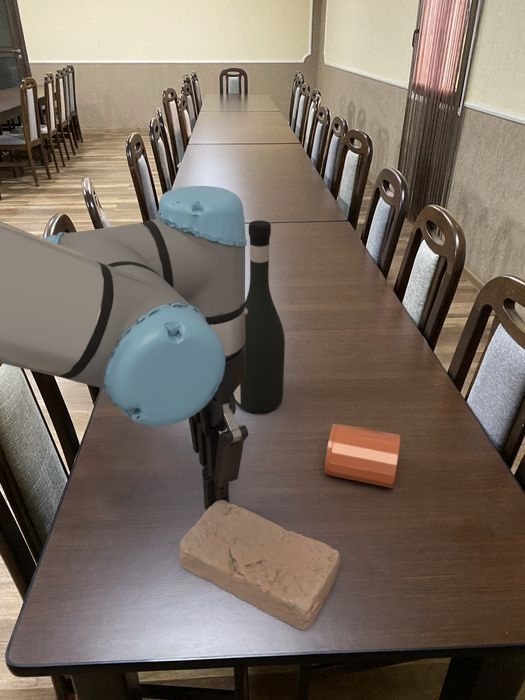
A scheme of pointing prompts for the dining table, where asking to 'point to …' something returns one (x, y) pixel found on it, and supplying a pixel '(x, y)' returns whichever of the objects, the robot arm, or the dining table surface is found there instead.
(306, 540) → the brick
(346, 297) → the dining table surface
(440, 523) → the dining table surface
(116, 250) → the robot arm
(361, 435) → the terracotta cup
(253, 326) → the wine bottle
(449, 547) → the dining table surface
